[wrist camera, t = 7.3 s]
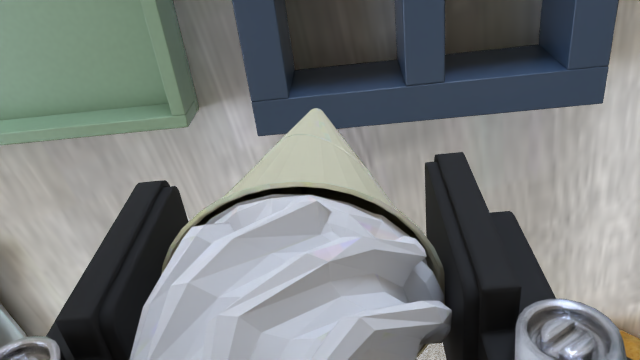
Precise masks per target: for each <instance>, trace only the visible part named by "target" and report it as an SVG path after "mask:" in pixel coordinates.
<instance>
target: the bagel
mask: <svg viewBox="0 0 640 360" xmlns="http://www.w3.org/2000/svg"><path fill="white" fill-rule="evenodd" d="M619 331H620V334H621V336H622V339H623V341H624V346H625V352H626V356H627V357H629V358H631V359H633V360H640V339H639V338H637V337H635V336H633V335H630V334H628V333H626V332H624V331H622V330H619Z"/></svg>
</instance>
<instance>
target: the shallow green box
mask: <svg viewBox="0 0 640 360" xmlns="http://www.w3.org/2000/svg"><path fill="white" fill-rule="evenodd" d="M198 110H199V106H198V101H197V97H196V93H195V89H194V85H193V81H192V77H191V73H190V69H189V65H188V61H187V57H186V53H185V49H184V45H183V41H182V36H181V32H180V28H179V24H178V20H177V16H176V12H175V8H174V4H173V0H0V145H9V144H19V143H30V142H40V141H50V140H60V139H70V138H81V137H91V136H101V135H111V134H121V133H132V132H142V131H152V130H162V129H172V128H183V127H188V126H189V125H190V123H191V121H192V120H193V118H194V116H195V114H196V112H197V111H198Z"/></svg>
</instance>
